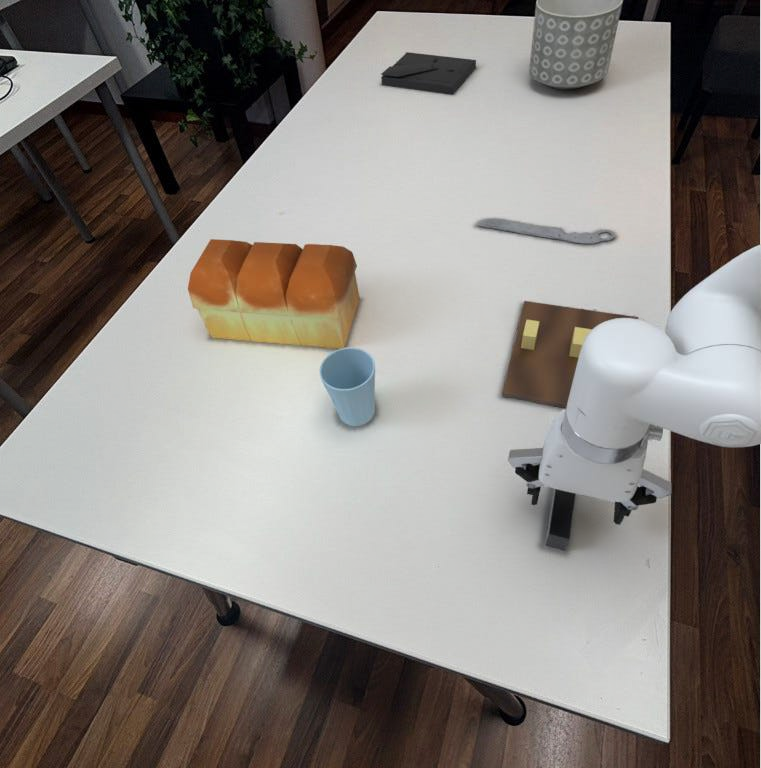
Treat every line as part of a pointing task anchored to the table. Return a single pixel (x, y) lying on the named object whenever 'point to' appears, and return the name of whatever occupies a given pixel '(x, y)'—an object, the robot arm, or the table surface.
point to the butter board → (548, 353)
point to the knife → (544, 231)
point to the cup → (350, 384)
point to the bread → (276, 292)
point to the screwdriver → (560, 519)
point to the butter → (578, 341)
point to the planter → (573, 41)
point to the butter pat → (530, 334)
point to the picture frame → (428, 73)
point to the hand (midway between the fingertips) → (575, 503)
